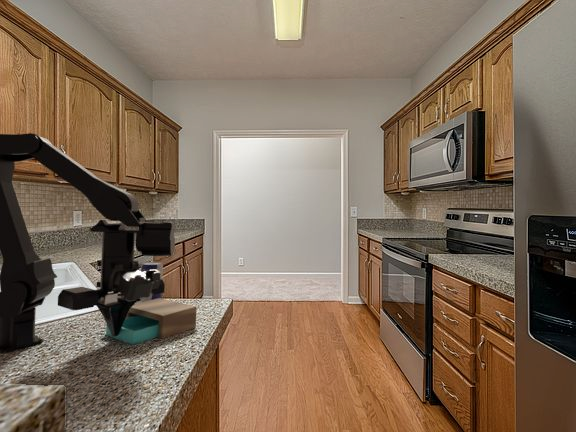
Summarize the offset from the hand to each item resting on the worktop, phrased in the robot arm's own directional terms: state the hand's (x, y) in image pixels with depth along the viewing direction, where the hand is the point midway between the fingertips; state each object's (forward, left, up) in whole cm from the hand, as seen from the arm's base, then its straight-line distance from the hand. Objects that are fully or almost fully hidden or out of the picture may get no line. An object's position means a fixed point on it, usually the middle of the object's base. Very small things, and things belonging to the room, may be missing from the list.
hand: (115, 335), depth 66 cm
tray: (0, +7, -1) cm, 7 cm away
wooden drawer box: (0, +11, -1) cm, 11 cm away
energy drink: (-14, +19, -1) cm, 23 cm away
